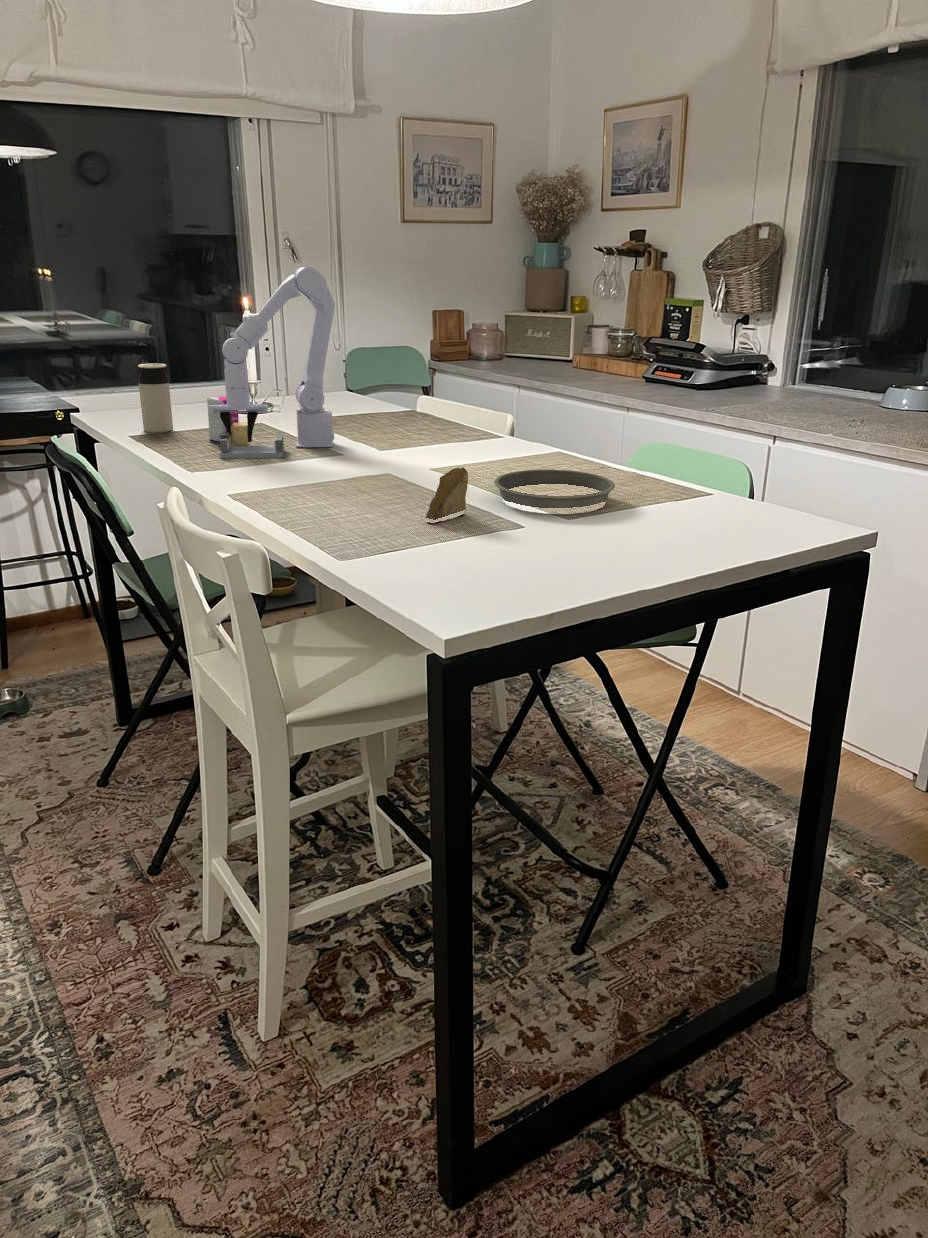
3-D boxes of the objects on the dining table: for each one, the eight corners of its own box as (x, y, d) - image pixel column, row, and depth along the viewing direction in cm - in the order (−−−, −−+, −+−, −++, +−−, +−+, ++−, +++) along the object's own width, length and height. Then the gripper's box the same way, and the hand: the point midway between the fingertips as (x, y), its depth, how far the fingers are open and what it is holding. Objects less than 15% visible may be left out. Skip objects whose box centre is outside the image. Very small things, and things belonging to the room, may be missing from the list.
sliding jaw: (231, 444, 242) (230, 430, 241) (228, 451, 234) (227, 436, 233) (223, 444, 242) (222, 430, 241) (219, 451, 234) (218, 437, 232)
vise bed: (284, 449, 245) (283, 433, 244) (282, 457, 236) (281, 440, 234) (224, 450, 243) (222, 433, 242) (220, 458, 234) (218, 441, 232)
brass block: (250, 445, 250) (248, 422, 248) (248, 449, 244) (246, 426, 242) (234, 445, 249) (232, 422, 247) (232, 450, 244) (230, 426, 242)
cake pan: (474, 494, 203) (475, 473, 201) (575, 485, 212) (577, 465, 211) (526, 523, 182) (527, 499, 180) (636, 511, 191) (638, 489, 190)
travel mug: (179, 430, 270) (173, 364, 264) (157, 433, 264) (150, 366, 257) (160, 427, 274) (153, 362, 268) (137, 430, 268) (130, 364, 261)
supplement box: (223, 444, 251) (220, 399, 247) (209, 441, 254) (205, 397, 250) (240, 441, 255) (237, 397, 251) (226, 438, 259) (223, 395, 255)
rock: (434, 517, 175) (482, 504, 179) (417, 475, 177) (465, 463, 180) (419, 539, 185) (464, 526, 189) (403, 499, 186) (449, 487, 190)
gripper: (205, 389, 237) (210, 444, 242) (265, 389, 239) (268, 443, 243) (209, 386, 243) (213, 439, 248) (267, 385, 245) (270, 439, 250)
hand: (240, 441), depth 246 cm, fingers closed on brass block, 4 cm apart
